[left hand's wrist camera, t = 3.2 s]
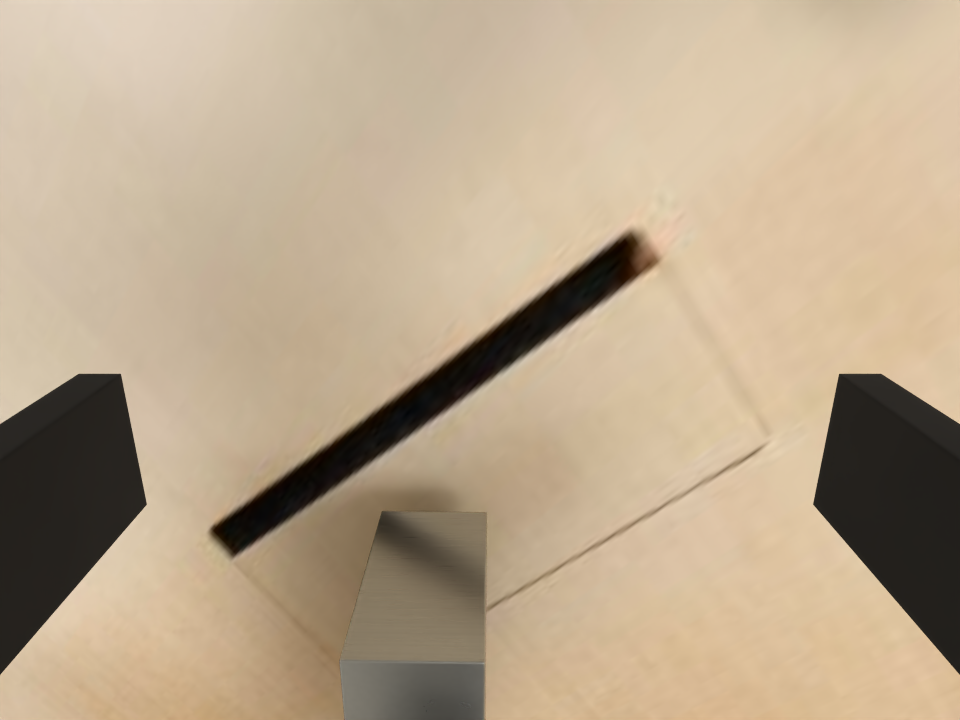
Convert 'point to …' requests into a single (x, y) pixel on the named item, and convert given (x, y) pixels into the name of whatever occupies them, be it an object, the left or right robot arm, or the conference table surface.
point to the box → (420, 621)
